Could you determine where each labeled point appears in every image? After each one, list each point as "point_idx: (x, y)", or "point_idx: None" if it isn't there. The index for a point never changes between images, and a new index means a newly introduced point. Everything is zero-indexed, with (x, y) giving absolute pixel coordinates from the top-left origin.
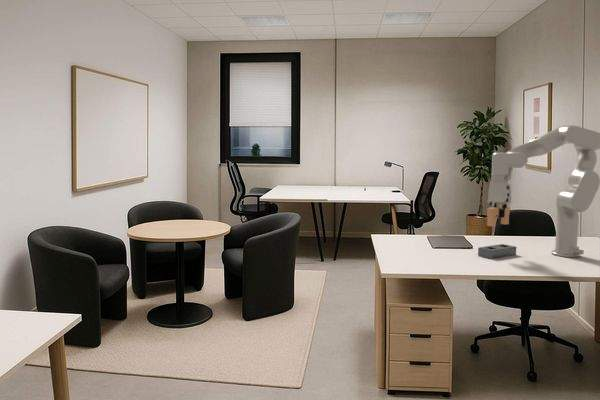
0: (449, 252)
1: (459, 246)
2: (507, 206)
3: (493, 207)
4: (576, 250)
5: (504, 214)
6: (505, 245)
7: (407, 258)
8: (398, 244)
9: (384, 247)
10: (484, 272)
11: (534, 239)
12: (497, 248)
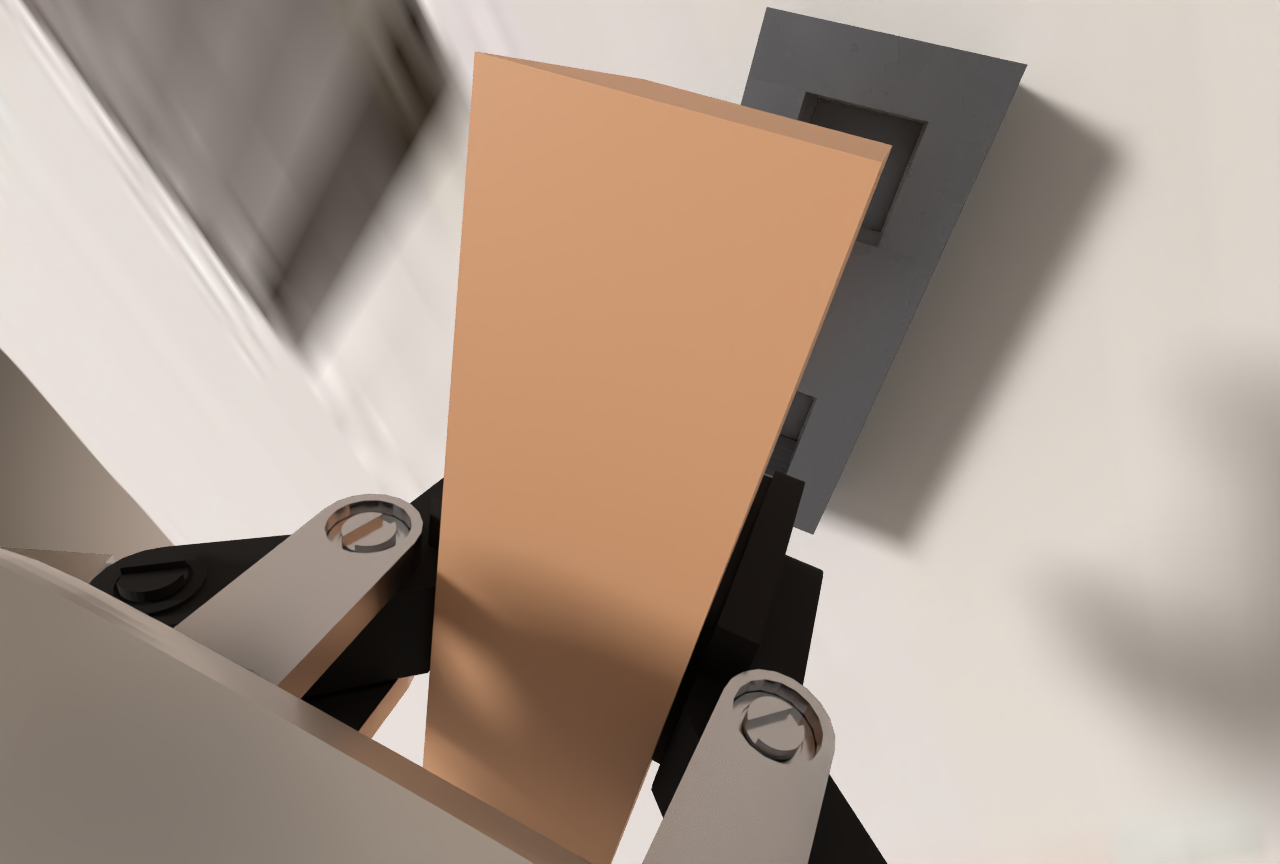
0: (447, 422)
1: (331, 80)
2: (696, 165)
3: (452, 776)
4: None
5: (820, 588)
6: (844, 100)
7: (421, 712)
8: (119, 374)
9: (168, 512)
10: None
11: None
12: (822, 398)
